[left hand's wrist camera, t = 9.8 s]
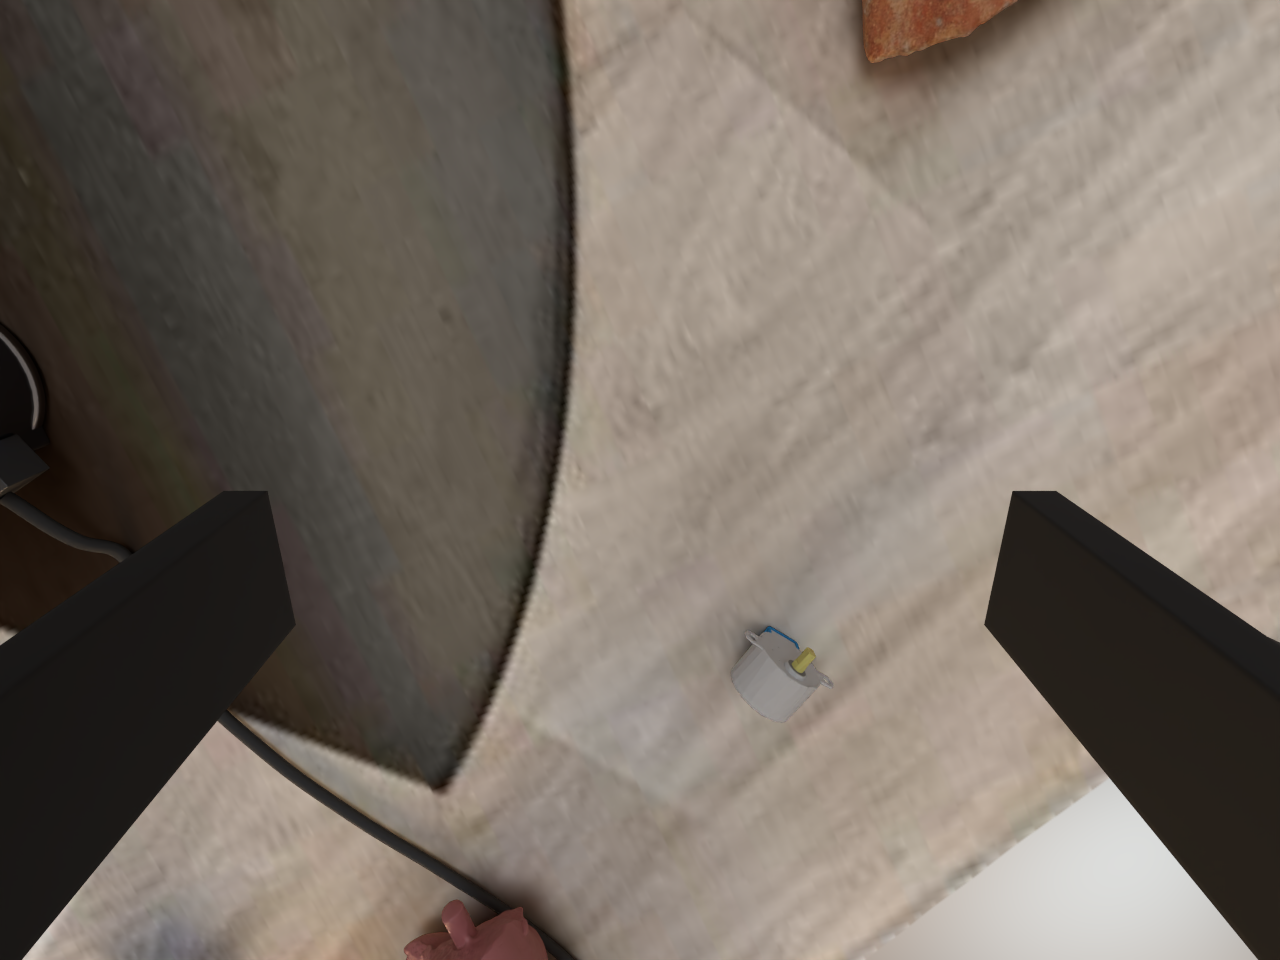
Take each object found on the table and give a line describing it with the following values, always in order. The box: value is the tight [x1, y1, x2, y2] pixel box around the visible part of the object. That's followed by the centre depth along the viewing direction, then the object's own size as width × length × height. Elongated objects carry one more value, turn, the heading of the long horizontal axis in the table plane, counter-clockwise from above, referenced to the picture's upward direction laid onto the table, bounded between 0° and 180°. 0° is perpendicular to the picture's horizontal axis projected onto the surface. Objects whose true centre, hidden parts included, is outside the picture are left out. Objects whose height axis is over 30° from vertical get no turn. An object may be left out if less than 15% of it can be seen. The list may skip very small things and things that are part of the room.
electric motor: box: [731, 626, 834, 722], centre depth 44 cm, size 7×5×5 cm
